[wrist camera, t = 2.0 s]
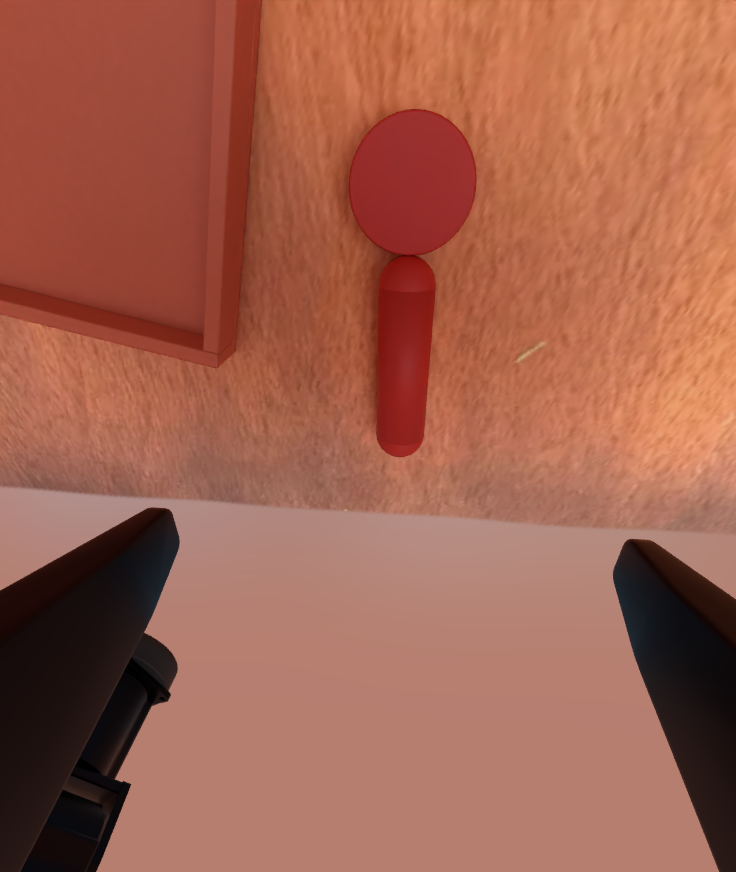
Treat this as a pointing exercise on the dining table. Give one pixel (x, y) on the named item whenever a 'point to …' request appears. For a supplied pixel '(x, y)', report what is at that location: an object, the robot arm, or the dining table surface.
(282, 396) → the dining table surface
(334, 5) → the dining table surface
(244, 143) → the red tray
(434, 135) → the red spoon
